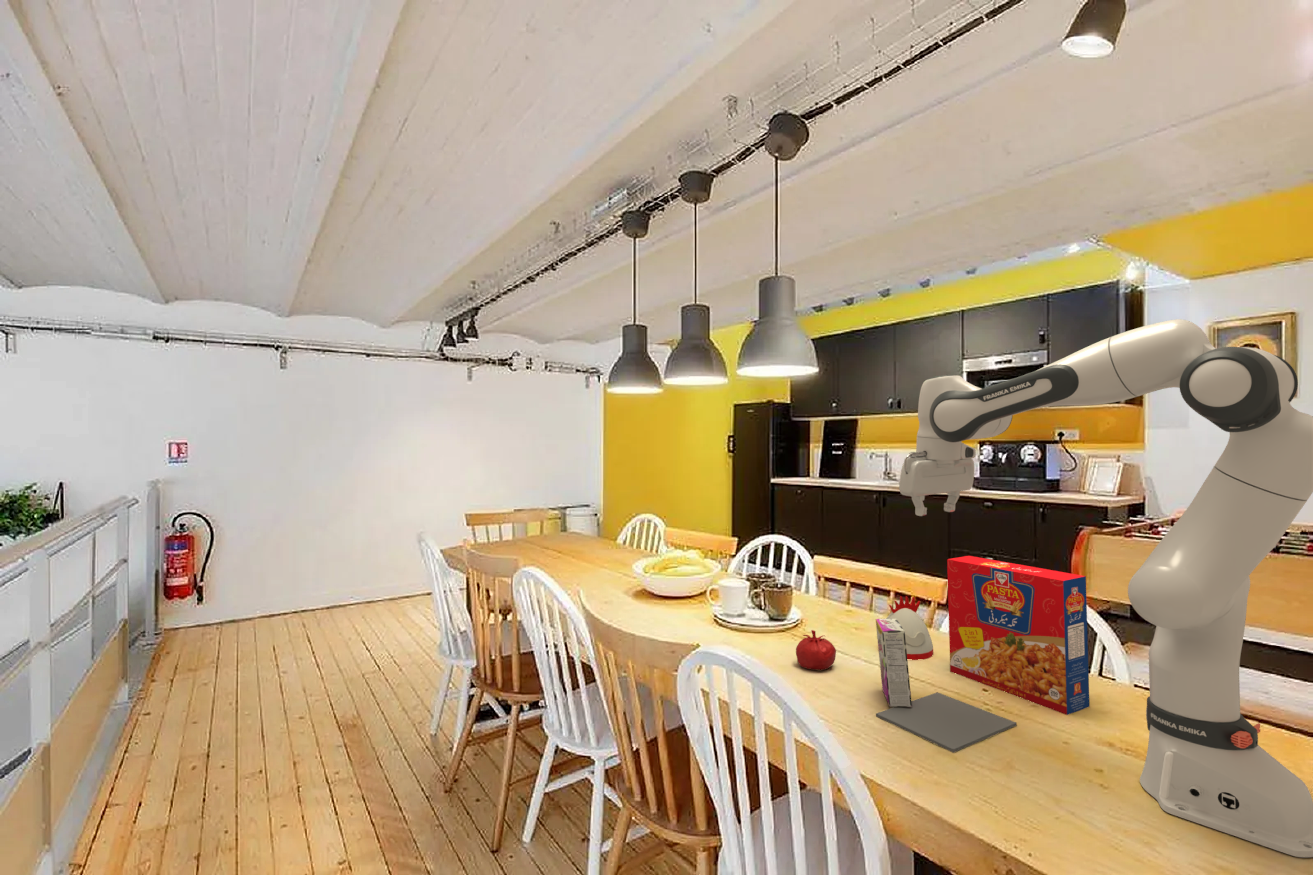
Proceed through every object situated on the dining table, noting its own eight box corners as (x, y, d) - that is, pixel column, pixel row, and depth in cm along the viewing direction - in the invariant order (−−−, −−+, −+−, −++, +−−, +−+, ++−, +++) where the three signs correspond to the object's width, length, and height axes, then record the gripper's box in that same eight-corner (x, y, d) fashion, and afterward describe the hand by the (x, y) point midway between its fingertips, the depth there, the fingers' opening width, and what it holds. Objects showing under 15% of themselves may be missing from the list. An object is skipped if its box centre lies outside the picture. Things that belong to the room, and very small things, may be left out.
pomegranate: (827, 677, 154) (826, 640, 153) (789, 668, 160) (788, 632, 159) (842, 664, 161) (841, 628, 161) (805, 656, 168) (804, 622, 167)
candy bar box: (880, 689, 145) (874, 618, 146) (903, 690, 144) (897, 617, 145) (888, 708, 134) (881, 630, 135) (912, 708, 133) (906, 630, 134)
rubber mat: (1016, 725, 125) (1016, 722, 125) (953, 752, 115) (953, 749, 115) (937, 694, 141) (937, 692, 141) (875, 716, 131) (875, 713, 131)
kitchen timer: (942, 659, 163) (940, 602, 163) (889, 660, 163) (887, 603, 163) (920, 642, 177) (919, 589, 177) (871, 643, 177) (870, 590, 177)
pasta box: (950, 671, 155) (947, 559, 155) (971, 665, 158) (968, 555, 158) (1066, 715, 129) (1063, 580, 130) (1089, 706, 133) (1085, 576, 133)
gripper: (918, 454, 127) (915, 521, 128) (981, 449, 137) (977, 511, 138) (893, 451, 132) (890, 515, 133) (955, 447, 142) (952, 506, 143)
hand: (935, 513), depth 136 cm, fingers open, 8 cm apart
